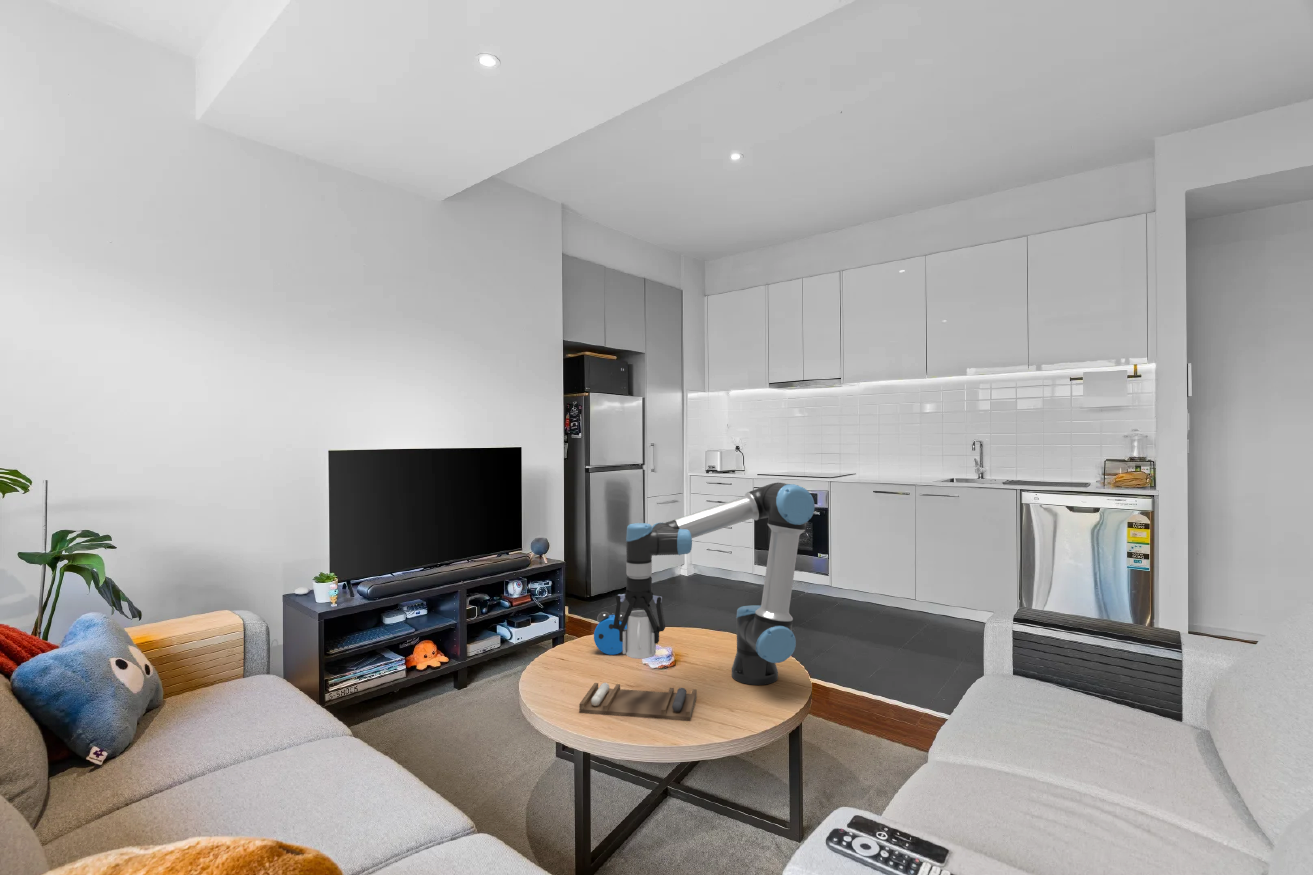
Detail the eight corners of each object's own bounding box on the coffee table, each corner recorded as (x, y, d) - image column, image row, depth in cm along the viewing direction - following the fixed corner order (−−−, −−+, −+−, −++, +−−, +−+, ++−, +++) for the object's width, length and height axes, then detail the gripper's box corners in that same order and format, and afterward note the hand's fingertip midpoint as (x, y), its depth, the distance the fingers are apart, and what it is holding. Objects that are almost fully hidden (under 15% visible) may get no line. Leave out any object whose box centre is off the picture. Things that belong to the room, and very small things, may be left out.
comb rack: (696, 697, 189) (696, 689, 189) (690, 720, 173) (690, 711, 173) (594, 690, 195) (594, 682, 195) (579, 712, 179) (579, 703, 179)
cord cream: (610, 690, 192) (610, 681, 192) (599, 707, 180) (599, 698, 180) (601, 689, 193) (601, 680, 193) (590, 707, 180) (589, 697, 180)
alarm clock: (631, 650, 232) (631, 610, 232) (629, 656, 226) (628, 614, 226) (596, 649, 233) (596, 609, 234) (593, 655, 227) (593, 614, 227)
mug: (650, 663, 178) (650, 621, 178) (621, 662, 179) (621, 620, 179) (656, 649, 190) (656, 610, 190) (629, 648, 191) (629, 609, 191)
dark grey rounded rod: (687, 695, 188) (687, 686, 188) (681, 713, 176) (681, 703, 176) (677, 695, 189) (677, 685, 189) (671, 713, 176) (671, 703, 176)
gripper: (675, 574, 186) (676, 651, 186) (608, 572, 190) (608, 647, 190) (671, 580, 179) (672, 659, 179) (601, 577, 183) (601, 655, 183)
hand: (639, 653), depth 184 cm, fingers closed on mug, 8 cm apart
